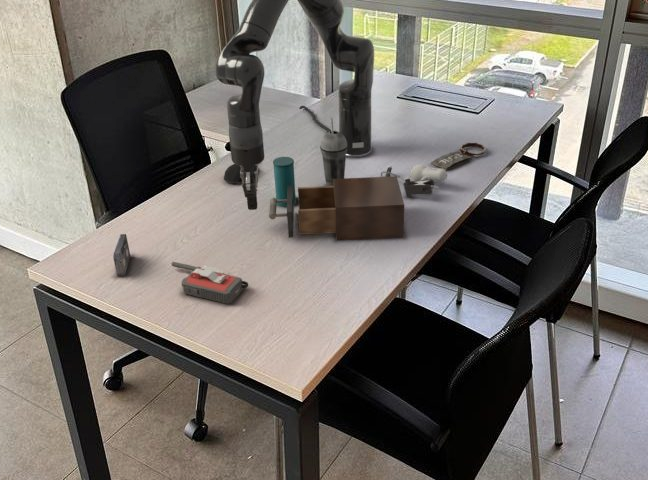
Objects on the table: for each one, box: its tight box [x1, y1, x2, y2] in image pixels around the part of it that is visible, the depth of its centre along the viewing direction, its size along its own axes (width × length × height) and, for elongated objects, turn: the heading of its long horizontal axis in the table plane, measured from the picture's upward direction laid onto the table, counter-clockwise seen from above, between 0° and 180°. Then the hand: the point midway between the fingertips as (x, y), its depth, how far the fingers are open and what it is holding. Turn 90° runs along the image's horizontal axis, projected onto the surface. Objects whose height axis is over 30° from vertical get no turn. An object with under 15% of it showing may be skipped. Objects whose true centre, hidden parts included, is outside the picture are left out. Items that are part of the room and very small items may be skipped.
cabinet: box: [333, 175, 405, 241], centre depth 175 cm, size 16×15×9 cm
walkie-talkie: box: [171, 261, 249, 305], centre depth 155 cm, size 9×4×20 cm
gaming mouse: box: [223, 163, 242, 184], centre depth 202 cm, size 6×15×4 cm, turn 155°
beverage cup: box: [319, 116, 348, 186], centre depth 189 cm, size 7×7×20 cm
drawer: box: [268, 185, 336, 239], centre depth 175 cm, size 19×14×7 cm
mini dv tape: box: [112, 233, 131, 277], centre depth 162 cm, size 8×2×6 cm, turn 4°
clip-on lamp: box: [380, 163, 448, 198], centre depth 192 cm, size 12×6×18 cm
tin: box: [272, 156, 297, 208], centre depth 185 cm, size 5×5×12 cm
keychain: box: [430, 141, 487, 170], centre depth 207 cm, size 8×19×2 cm, turn 131°
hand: (252, 208), depth 174 cm, fingers closed
